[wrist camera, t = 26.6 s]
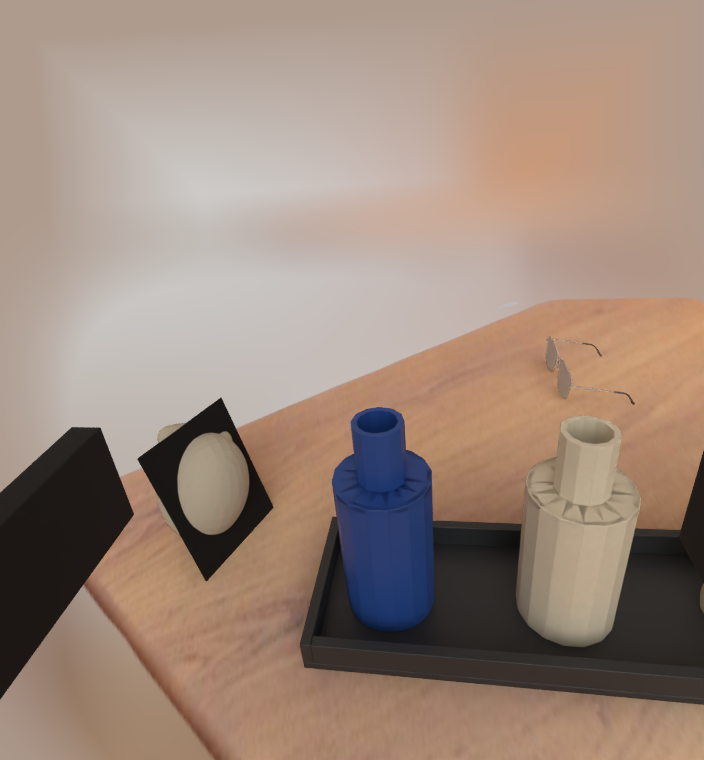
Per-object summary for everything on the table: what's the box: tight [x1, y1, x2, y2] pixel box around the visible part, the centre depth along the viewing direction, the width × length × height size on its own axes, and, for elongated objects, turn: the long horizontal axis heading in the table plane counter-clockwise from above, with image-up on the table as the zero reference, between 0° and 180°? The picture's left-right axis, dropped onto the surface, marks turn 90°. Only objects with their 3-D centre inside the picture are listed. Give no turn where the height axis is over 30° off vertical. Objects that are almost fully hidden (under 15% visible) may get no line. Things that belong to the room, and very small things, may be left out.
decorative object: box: [138, 398, 274, 581], centre depth 48 cm, size 13×10×10 cm
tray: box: [300, 517, 704, 704], centre depth 39 cm, size 38×13×3 cm, turn 81°
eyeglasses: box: [546, 336, 635, 404], centre depth 68 cm, size 14×8×4 cm, turn 173°
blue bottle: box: [332, 407, 434, 632], centre depth 37 cm, size 7×7×16 cm
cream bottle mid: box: [516, 415, 641, 647], centre depth 35 cm, size 7×7×16 cm
